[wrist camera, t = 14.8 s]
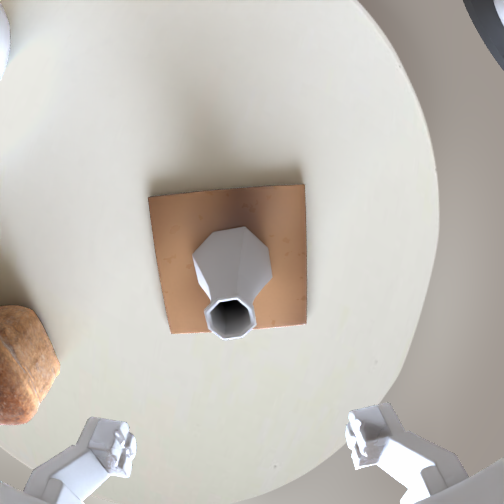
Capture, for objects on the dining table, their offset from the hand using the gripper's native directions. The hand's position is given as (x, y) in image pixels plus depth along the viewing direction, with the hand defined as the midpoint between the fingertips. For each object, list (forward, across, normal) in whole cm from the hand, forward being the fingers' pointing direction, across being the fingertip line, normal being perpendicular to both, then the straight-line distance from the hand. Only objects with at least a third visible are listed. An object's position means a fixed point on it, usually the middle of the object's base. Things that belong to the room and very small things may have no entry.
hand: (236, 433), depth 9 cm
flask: (+20, +1, 0) cm, 20 cm away
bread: (+20, +37, +10) cm, 43 cm away
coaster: (+20, +1, +1) cm, 20 cm away
